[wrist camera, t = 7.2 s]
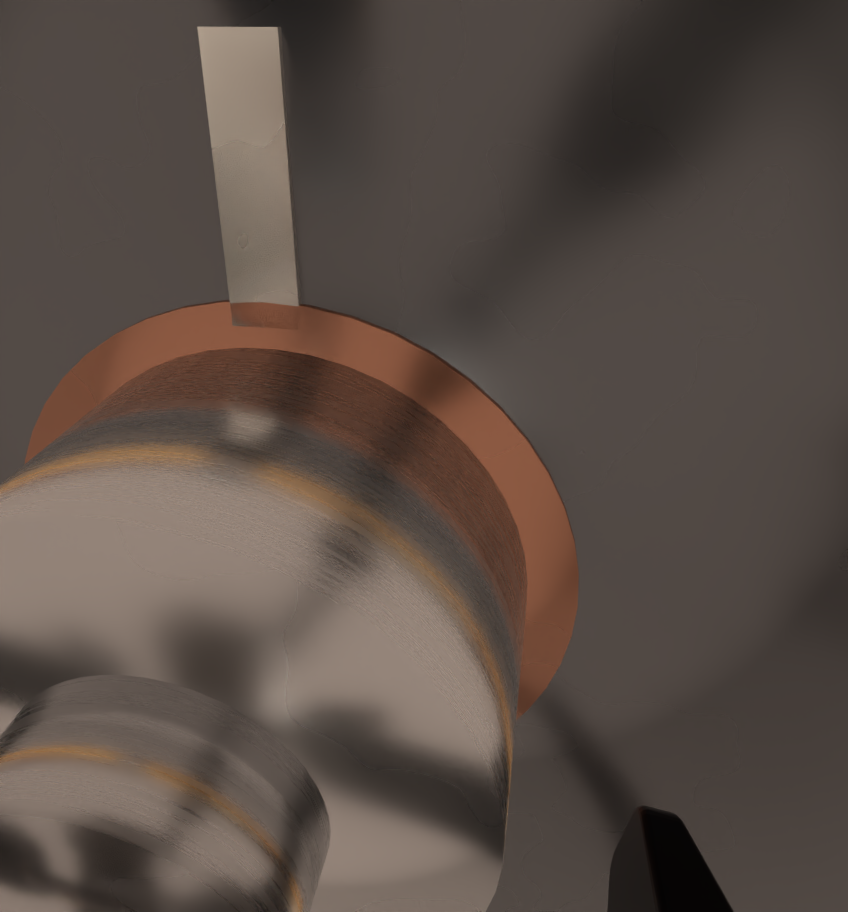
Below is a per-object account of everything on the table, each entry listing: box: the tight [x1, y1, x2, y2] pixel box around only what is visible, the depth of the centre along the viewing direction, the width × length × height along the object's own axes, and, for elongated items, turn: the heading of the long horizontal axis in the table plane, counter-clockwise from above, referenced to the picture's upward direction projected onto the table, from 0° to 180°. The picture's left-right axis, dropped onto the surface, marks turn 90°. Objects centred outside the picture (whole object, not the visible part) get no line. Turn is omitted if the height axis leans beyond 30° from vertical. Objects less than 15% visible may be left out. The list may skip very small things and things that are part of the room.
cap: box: [0, 348, 528, 912], centre depth 9 cm, size 6×6×5 cm
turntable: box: [0, 0, 848, 912], centre depth 10 cm, size 20×20×4 cm
